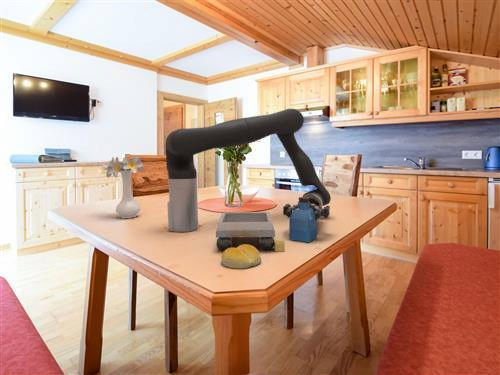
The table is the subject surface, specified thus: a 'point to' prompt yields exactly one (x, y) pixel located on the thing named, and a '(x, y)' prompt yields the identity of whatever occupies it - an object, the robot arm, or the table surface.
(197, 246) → the table surface
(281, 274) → the table surface
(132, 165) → the flower vase
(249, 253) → the bread roll
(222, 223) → the trolley
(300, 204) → the perfume bottle
